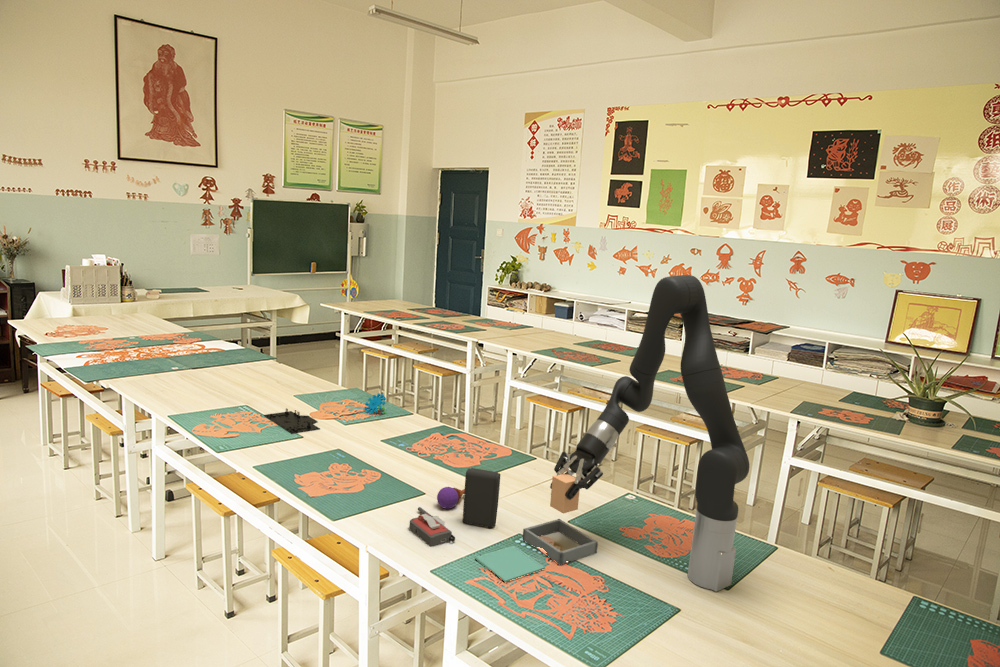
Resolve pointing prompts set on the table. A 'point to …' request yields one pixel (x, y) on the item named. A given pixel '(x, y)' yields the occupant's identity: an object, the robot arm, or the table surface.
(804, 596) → the table surface
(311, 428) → the circuit board
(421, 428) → the table surface
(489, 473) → the card reader
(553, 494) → the block
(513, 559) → the mat
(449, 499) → the kendama
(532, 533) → the grey rectangular frame
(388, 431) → the table surface
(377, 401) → the gear
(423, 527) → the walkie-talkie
